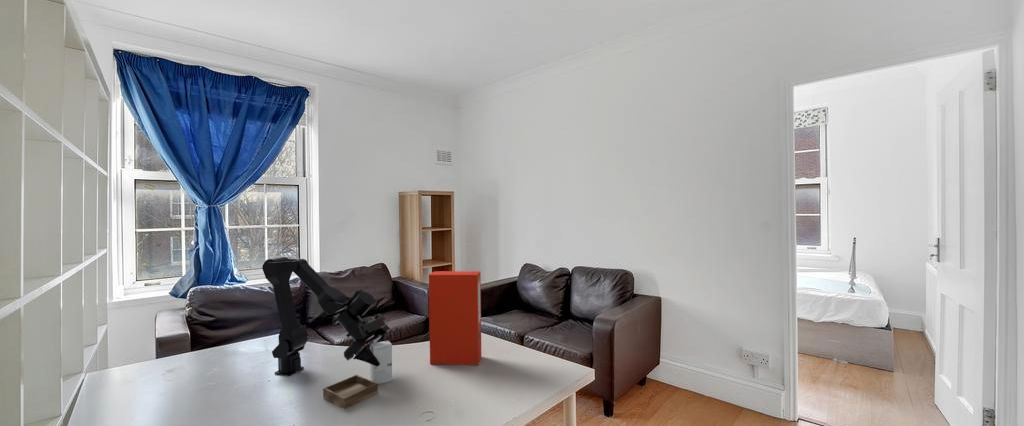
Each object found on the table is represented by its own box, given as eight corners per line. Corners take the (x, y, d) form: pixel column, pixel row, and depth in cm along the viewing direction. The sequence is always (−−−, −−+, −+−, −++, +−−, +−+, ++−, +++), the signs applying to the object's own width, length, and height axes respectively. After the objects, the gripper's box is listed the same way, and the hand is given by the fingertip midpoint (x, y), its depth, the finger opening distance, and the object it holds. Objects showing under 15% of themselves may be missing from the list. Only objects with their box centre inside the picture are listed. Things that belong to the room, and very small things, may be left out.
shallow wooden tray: (323, 398, 116) (323, 388, 116) (356, 383, 125) (356, 374, 125) (344, 409, 110) (344, 398, 110) (378, 393, 119) (377, 383, 119)
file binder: (436, 355, 147) (434, 270, 146) (481, 356, 146) (480, 270, 145) (430, 364, 139) (428, 275, 138) (478, 365, 138) (476, 275, 137)
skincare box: (373, 385, 124) (372, 347, 123) (370, 380, 127) (369, 343, 127) (393, 380, 127) (392, 343, 127) (389, 375, 131) (388, 339, 130)
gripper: (351, 317, 118) (385, 356, 116) (384, 301, 136) (414, 334, 134) (329, 341, 120) (362, 379, 118) (364, 322, 138) (393, 355, 136)
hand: (385, 360), depth 127 cm, fingers closed on skincare box, 7 cm apart
